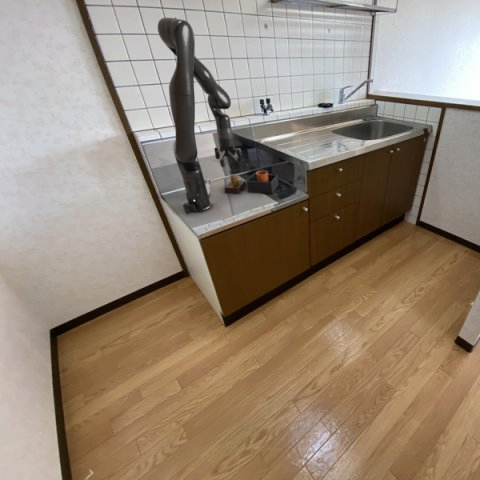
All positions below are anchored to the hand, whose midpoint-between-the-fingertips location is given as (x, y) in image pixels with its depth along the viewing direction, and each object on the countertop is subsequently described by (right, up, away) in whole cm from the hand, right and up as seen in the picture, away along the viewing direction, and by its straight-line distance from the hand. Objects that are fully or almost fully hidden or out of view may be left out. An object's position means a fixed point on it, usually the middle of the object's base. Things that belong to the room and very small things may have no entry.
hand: (230, 167), depth 148 cm
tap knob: (+1, -8, +5) cm, 10 cm away
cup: (+17, -10, +7) cm, 21 cm away
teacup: (-15, -16, 0) cm, 21 cm away
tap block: (+1, -10, +7) cm, 13 cm away
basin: (+17, -10, +7) cm, 21 cm away
